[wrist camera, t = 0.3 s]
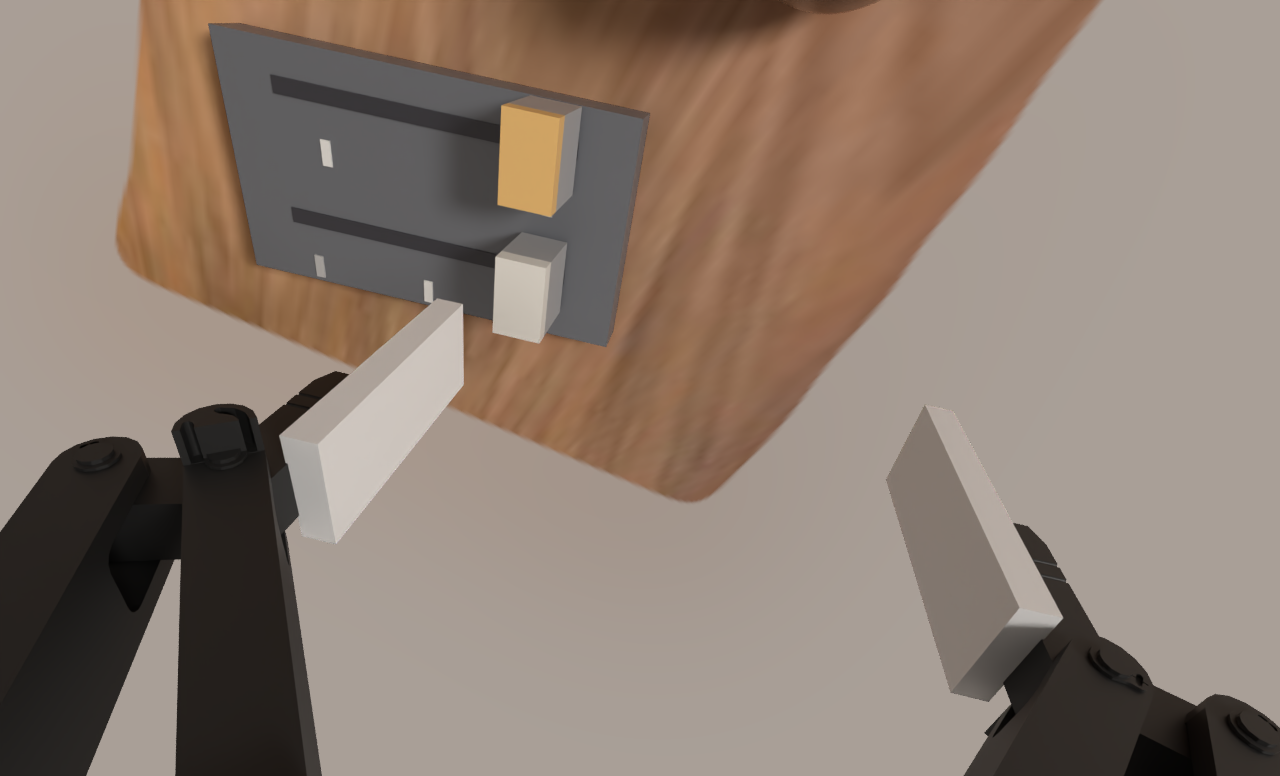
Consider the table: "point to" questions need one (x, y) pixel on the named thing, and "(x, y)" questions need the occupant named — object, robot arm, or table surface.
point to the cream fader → (528, 286)
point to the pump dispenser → (828, 5)
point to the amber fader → (537, 154)
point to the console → (413, 176)
